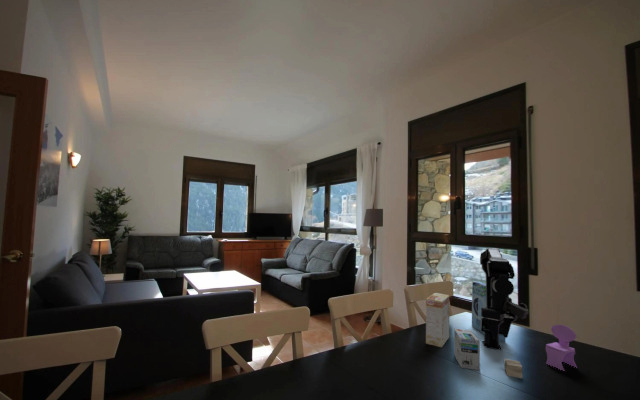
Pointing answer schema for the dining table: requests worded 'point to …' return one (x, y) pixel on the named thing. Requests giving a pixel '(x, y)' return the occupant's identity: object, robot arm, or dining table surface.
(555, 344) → the toy chair
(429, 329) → the coffeecake box
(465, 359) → the light bulb box
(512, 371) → the birch block
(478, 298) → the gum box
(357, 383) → the dining table surface
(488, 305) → the robot arm
